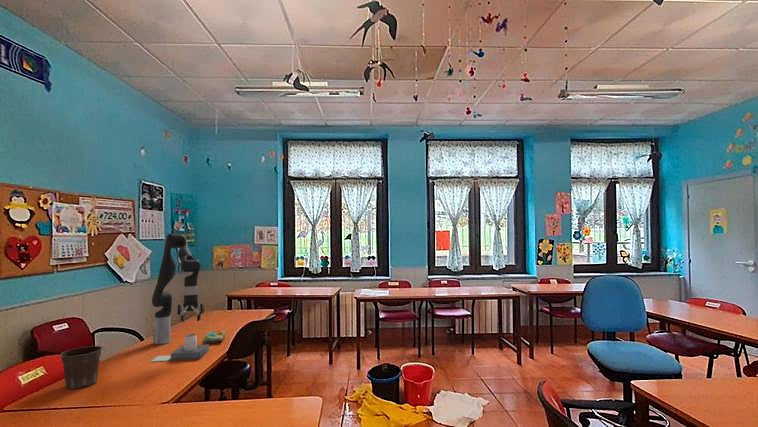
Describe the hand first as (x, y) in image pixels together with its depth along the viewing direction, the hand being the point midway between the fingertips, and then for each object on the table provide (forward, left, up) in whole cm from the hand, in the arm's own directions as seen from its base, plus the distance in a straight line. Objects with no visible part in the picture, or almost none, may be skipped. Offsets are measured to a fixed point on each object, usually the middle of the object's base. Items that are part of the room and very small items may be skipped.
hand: (190, 321), depth 235 cm
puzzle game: (+5, +32, -21) cm, 39 cm away
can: (0, 0, -20) cm, 20 cm away
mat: (-14, -4, -20) cm, 25 cm away
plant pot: (-37, -39, -20) cm, 58 cm away
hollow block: (0, 0, -20) cm, 20 cm away
